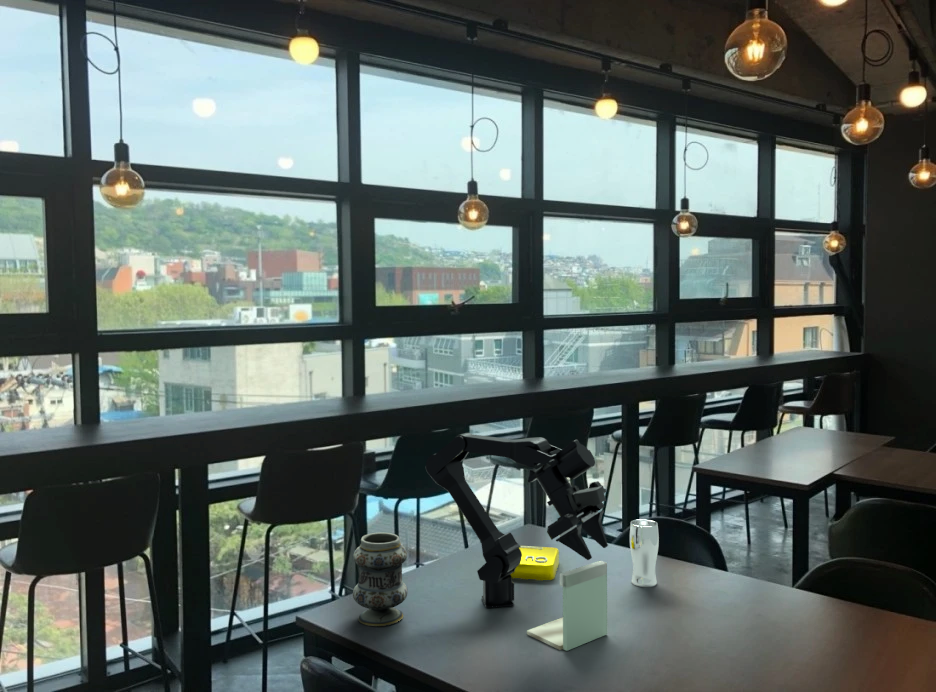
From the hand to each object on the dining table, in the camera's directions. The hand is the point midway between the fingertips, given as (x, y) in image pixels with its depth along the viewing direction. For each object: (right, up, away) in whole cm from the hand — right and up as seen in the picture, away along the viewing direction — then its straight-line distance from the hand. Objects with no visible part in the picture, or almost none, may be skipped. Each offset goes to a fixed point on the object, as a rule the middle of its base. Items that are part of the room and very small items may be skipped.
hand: (598, 552), depth 159 cm
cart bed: (-7, -16, -3) cm, 18 cm away
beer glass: (+16, -15, +25) cm, 33 cm away
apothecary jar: (-47, -16, +6) cm, 50 cm away
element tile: (-12, -15, +36) cm, 41 cm away
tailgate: (-4, -16, -8) cm, 18 cm away
